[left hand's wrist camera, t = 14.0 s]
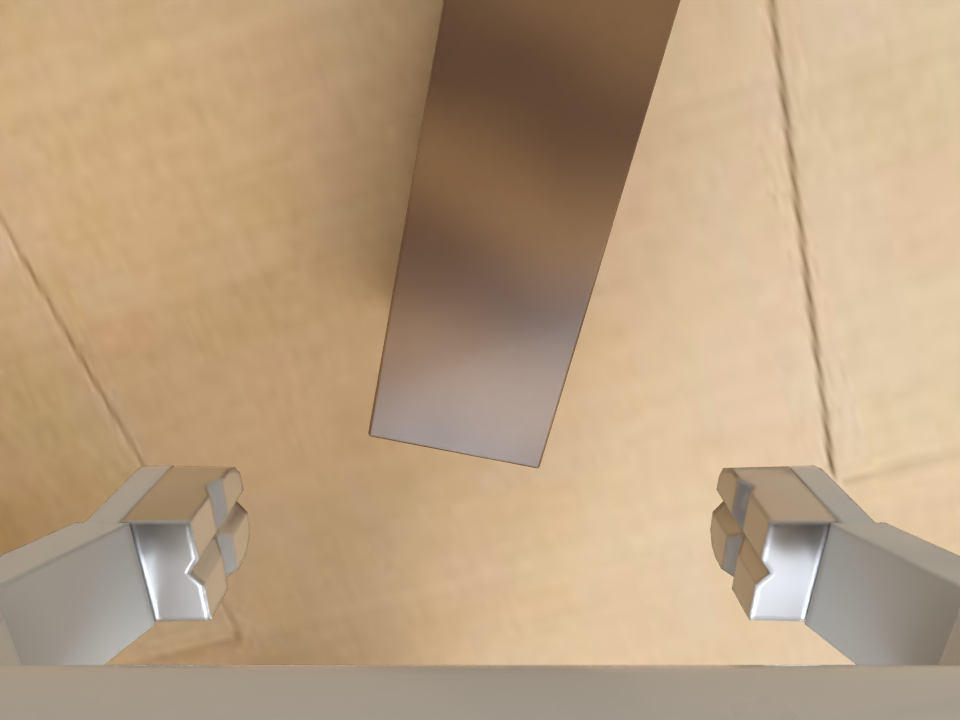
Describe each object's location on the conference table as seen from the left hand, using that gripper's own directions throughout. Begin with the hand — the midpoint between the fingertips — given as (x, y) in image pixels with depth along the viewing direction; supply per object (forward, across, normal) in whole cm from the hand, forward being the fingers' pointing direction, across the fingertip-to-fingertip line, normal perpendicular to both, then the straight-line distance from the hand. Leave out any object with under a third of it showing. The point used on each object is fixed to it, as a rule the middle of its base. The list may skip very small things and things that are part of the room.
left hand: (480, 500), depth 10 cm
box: (+20, -2, -7) cm, 21 cm away
